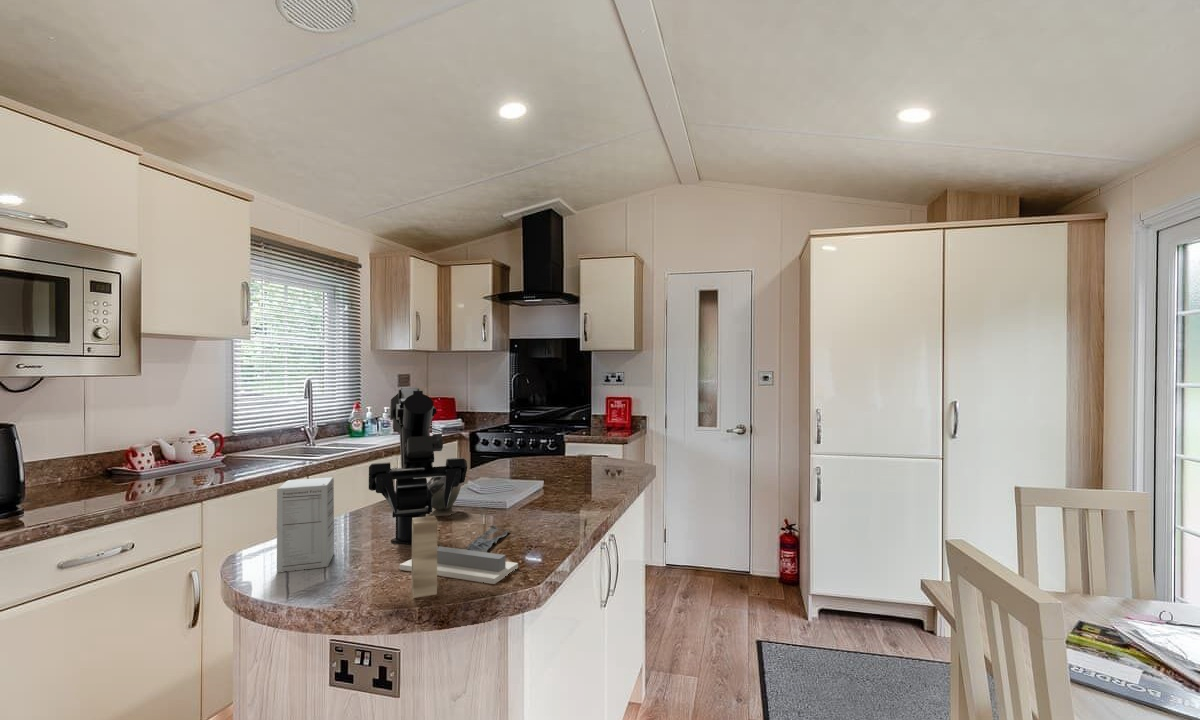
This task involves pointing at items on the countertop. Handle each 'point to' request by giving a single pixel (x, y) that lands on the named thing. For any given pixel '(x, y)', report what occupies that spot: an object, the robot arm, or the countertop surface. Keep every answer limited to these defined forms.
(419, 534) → the brass post
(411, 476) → the robot arm
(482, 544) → the driftwood
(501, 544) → the countertop surface
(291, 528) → the supplement box
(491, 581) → the ridge stand
